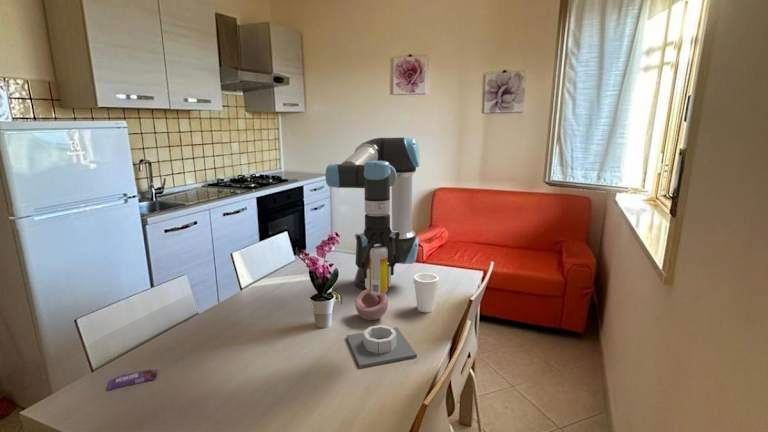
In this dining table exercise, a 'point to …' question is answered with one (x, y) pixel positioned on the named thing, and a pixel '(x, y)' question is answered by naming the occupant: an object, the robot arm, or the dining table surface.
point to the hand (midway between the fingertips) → (377, 286)
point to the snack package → (132, 379)
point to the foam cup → (425, 291)
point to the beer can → (378, 270)
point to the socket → (380, 346)
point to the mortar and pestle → (371, 305)
